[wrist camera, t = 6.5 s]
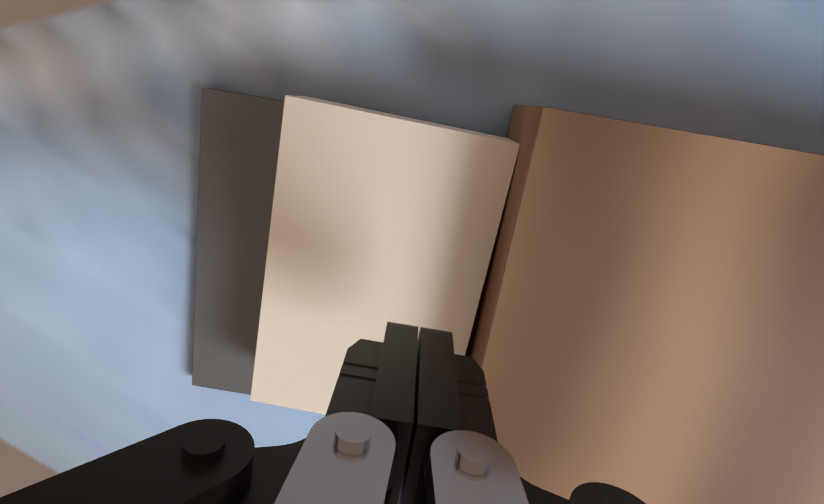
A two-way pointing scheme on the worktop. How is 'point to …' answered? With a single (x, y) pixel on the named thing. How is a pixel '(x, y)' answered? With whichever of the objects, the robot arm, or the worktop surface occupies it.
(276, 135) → the mat
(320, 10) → the worktop surface
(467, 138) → the cream rectangular block
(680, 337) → the brown flat block
